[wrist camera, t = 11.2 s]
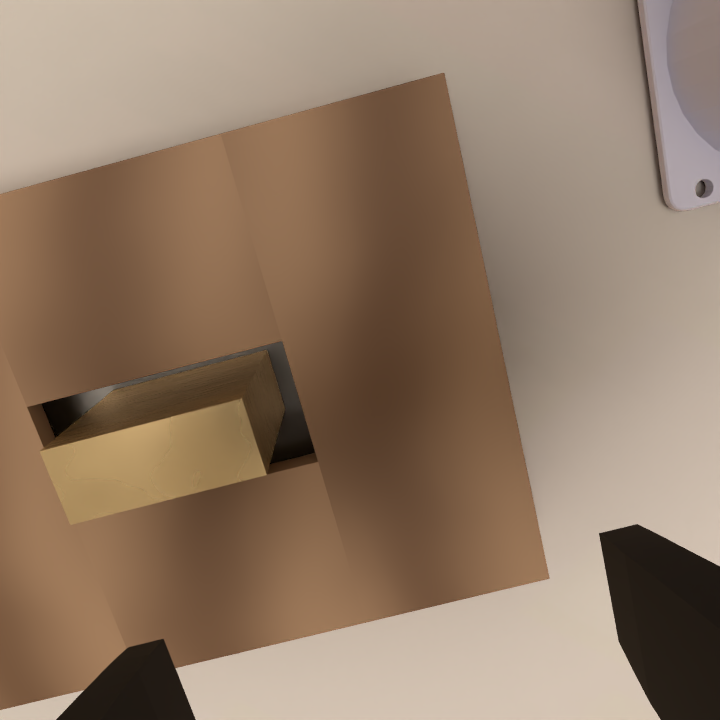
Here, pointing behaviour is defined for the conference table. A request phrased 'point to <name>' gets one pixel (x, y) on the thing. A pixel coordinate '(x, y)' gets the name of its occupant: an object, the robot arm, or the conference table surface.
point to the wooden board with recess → (311, 377)
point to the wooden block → (168, 438)
